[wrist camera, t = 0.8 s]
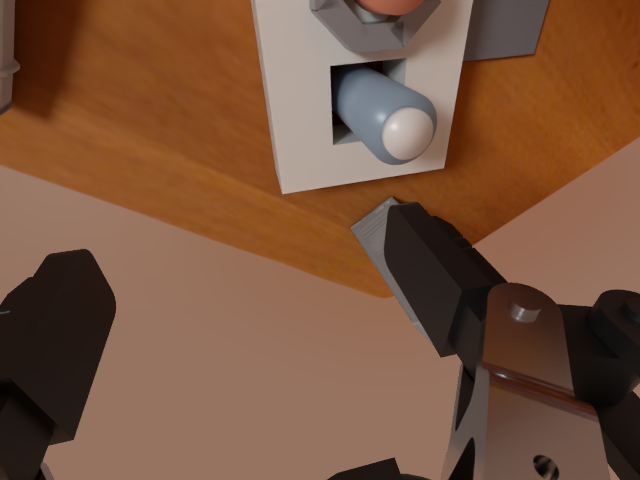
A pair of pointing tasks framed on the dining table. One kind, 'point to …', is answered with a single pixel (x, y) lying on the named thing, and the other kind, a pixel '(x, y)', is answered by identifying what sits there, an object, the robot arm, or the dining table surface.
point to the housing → (348, 48)
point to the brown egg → (389, 6)
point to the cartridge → (383, 113)
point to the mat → (503, 28)
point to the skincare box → (382, 252)
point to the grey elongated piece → (7, 53)
